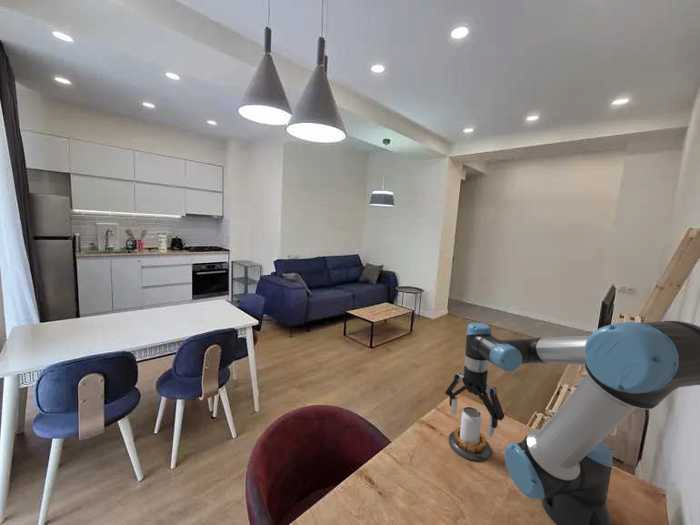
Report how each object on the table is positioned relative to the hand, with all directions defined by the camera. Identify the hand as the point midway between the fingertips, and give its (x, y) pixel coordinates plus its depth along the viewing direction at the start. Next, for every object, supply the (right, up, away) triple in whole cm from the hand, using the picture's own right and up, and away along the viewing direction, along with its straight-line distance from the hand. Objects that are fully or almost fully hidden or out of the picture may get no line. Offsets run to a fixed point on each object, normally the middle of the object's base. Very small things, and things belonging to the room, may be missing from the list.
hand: (471, 424), depth 103 cm
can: (0, -7, +1) cm, 8 cm away
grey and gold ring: (0, -8, +1) cm, 8 cm away
